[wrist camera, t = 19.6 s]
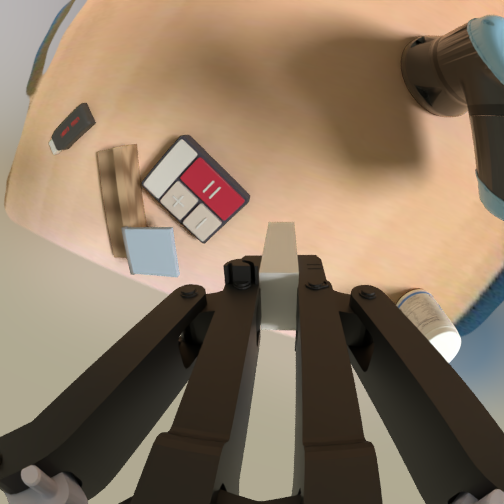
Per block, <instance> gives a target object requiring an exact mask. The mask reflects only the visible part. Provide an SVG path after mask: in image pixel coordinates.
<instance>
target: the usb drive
mask: <svg viewBox="0 0 504 504" xmlns="http://www.w3.org/2000/svg"><path fill="white" fill-rule="evenodd" d="M95 123H96V122H95V120H94V118H93V116H92V113H91V111H90V109H89V107H88V104H87V103H82V104H80V105H79V106H78V107H77V108H76V109H75V110H74V111H73V112H72V113H71V114H70V115H69V116H68V117H67V118H66V119H65V120H64V121H63V122H62V123H61V124H60V125H59V126H58V127H57V128H56V130H55V131H54V133H53V135H52V139H51V140H50V142H49V145H50V147H51V150H52V152H53V155H56V154H59V153H60V152H61V151H62V150H65V149H69V148H70V147H71V146H72V145H73V144H74V143H75V142H76V141H77V140H78V139H79V138H80V137H81V136H82V135H83V134H84V133H86V132H87V131H88V130H89V129H90V128H91V127H92V126H93V125H94V124H95Z"/></svg>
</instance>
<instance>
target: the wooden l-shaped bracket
mask: <svg viewBox="0 0 504 504" xmlns="http://www.w3.org/2000/svg"><path fill="white" fill-rule="evenodd" d="M97 153H98V163H99V172H100V180H101V188H102V194H103V201H104V207H105V213H106V219H107V224H108V230H109V235H110V240H111V244H112V249H113V253H114V257H120V258H127V255H126V250H125V246H124V241H123V235H122V230H121V227H124V226H128V227H147V225H146V219H145V212H144V205H143V197H142V190H141V181H140V172H139V162H138V151H137V144H134V145H126V146H119V147H114V148H113V149H108V150H103V151H99V152H97Z"/></svg>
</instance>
